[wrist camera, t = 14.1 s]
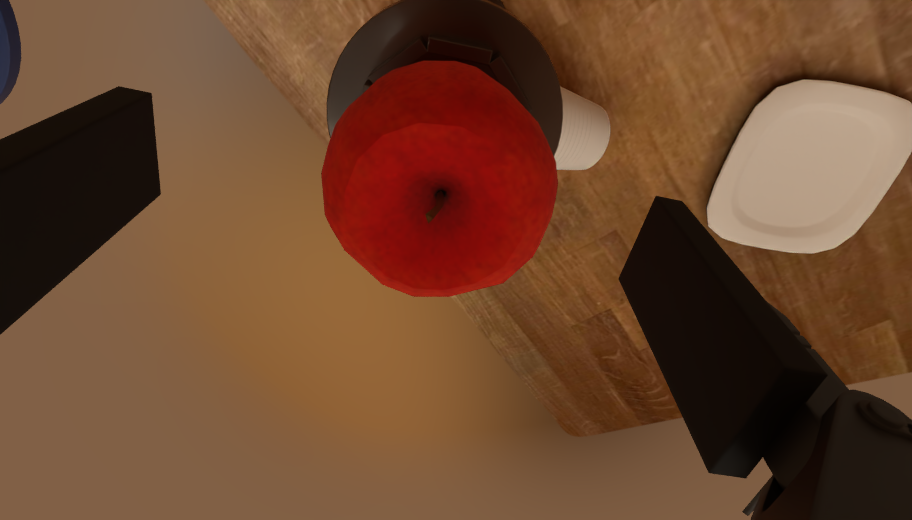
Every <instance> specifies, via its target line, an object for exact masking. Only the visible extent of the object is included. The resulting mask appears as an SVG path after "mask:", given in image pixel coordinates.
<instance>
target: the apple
mask: <svg viewBox="0 0 912 520" xmlns="http://www.w3.org/2000/svg"><path fill="white" fill-rule="evenodd" d="M321 174H322V186H323V198H324V210H325V216H326V218H327V220H328V222H329V224H330V227H331V228H332V230H333V232H334V233H335V235H336V237H337V238H338V240H339V241H340V243H341V245H342V247H343V248H344V250H345V251H346V252H347V253H348V254H349V255H351V256H352V257H353V258H354V259H355V260H356V261H357V262H358V263H359V264H361V265H362V266H363V267H364V268H365V269H366V270H367V271H368V272H369V273H370V274H372V275H373V276H374V277H375V278H376V279H377V280H378V281H379V282H380V283H381V284H383V285H385V286H387V287H390V288H393V289H395V290H398V291H401V292H403V293H406V294H408V295H411V296H414V297H415V296H416V297H418V296H419V297H420V296H421V297H425V296H426V297H429V296H430V297H432V296H437V297H442V296H443V297H444V296H445V297H446V296H447V297H449V296H453V295H457V294H461V293H465V292H470V291H474V290H478V289H482V288H486V287H490V286H494V285H498V284H502V283H504V282H505V281H506V280H507V279H508V278H509V277H511V276H512V275H513V274H514V273H515V272H516V271H517V270H518V269H520V268H521V267H522V266H523V265H524V264H525V263H526V262H527V261H529V260H530V259H531V258H532V257H533V255H534V254H535V252H536V250H537V248H538V247H539V245H540V242H541V240H542V238H543V235H544V233H545V231H546V229H547V226H548V224H549V222H550V219H551V217H552V213H553V208H554V204H555V199H556V193H557V186H558V179H557V169H556V161H555V158H554V156H553V153H552V151H551V149H550V146H549V144H548V141H547V139H546V137H545V135H544V133H543V131H542V129H541V127H540V125H539V123H538V122H537V121H536V120H535V118H534V117H533V116H532V115H531V114H530V113H529V112H528V111H527V110H526V109H525V107H524V106H523V105H522V104H521V103H520V102H519V101H518V100H517V99H516V98H515V96H514V95H513V94H512V93H511V92H510V91H509V90H508V89H507V88H505V87H504V86H503V85H501V84H500V83H498V82H497V81H495V80H494V79H493V78H491V77H490V76H488V75H487V74H486V73H484V72H483V71H481V70H480V69H479V68H477V67H475V66H471V65H468V64H464V63H461V62H457V61H421V62H417V63H414V64H410V65H407V66H404V67H400V68H397V69H394V70H392V71H390V72H389V73H387V74H385V75H384V76H382V77H381V78H379V79H377V80H376V81H375V82H374V83H373V84H372V85H371V86H370V87H369V88H368V89H367V90H366V91H365V92H364V93H363V94H362V95H361V96H360V97H358V98H357V99H356V100H355V101H354V102H353V103H352V104H351V105H349V106H348V107H347V109H346V110H345V112H344V113H343V114H342V116H341V117H340V119H339V120H338V122H337V123H336V124H335V127H334V130H333V133H332V136H331V139H330V142H329V145H328V148H327V152H326V156H325V161H324V165H323V169H322V173H321Z"/></svg>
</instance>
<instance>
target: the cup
mask: <svg viewBox="0 0 912 520" xmlns="http://www.w3.org/2000/svg"><path fill="white" fill-rule="evenodd" d="M560 89H561V95H562V101H563V122H562V132H561V136H560V140H559V145H558V148H557V151H556V153H555V156H554V158H555V161H556V169H557V170H559V169H560V170H563V169H564V170H585V169H588V168H590V167H592V166H593V165H594V164H595V163H596V162H597V161H598V160H599V159H600V158H601V157H602V155H603V154H604V152H605V150H606V148H607V145H608V142H609V138H610V121H609V117H608V115H607V112H606V111H605V109H604V108H603V107H601V106H600V105H598V104H596V103H594V102H592V101H590V100H588V99H586V98H583V97H581V96H579V95H577V94H575V93H573V92H571V91H569V90H567V89H565V88H563V87H561V86H560Z"/></svg>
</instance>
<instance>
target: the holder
mask: <svg viewBox="0 0 912 520" xmlns="http://www.w3.org/2000/svg"><path fill="white" fill-rule="evenodd" d="M421 61H457V62H461V63H464V64H468V65H471V66H475V67H477V68H479V69H480V70H481V71H483V72H484V73H486V74H487V75H488V76H490V77H491V78H493V79H494V80H495V81H497V82H498V83H500V84H501V85H503V86H504V87H505V88H507V89H508V90H509V91H510V92H511V93H512V94H513V95H514V96H515V98H516V99H517V100H518V101H519V102H520V103H521V104H522V105H523V106H524V107H525V109H526V110H527V111H528V112H529V113H530V114H531V115H532V116H533V117H534V118H535V120H536V121H537V122H538V123H539V125H540V127H541V129H542V131H543V133H544V135H545V137H546V139H547V141H548V144H549V146H550V149H551V151H552V153H553V156H555V153H556V151H557V148H558V145H559V140H560V136H561V132H562V122H563V101H562V95H561V89H560V84H559V81H558V78H557V74H556V71H555V69H554V67H553V64H552V62H551V60H550V58H549V56H548V54H547V53H546V51H545V50H544V48H543V47H542V45H541V43H540V42H539V41H538V39H537V38H536V37H535V36H534V34H533V33H532V32H531V31H530V30H529V29H528V27H527V26H526V25H525V24H523V23H522V22H521V21H520V20H519V19H518V18H517V17H515V16H514V15H513V14H511V13H510V12H508V11H507V10H506V9H505V7H504V5H503V3H502V2H501V0H400V1H398V2H396V3H394V4H392V5H390V6H388V7H386V8H385V9H383V10H382V11H380V12H379V13H377V14H376V15H374V16H373V17H372V18H371V19H370V20H369V21H368V22H366V23H365V24H364V25H363V26H362V27H361V28H360V29H359V30H358V31H357V32H356V34H355V35H354V36H353V37H352V38H351V40H350V41H349V42H348V43H347V45H346V47H345V48H344V50H343V52H342V53H341V55H340V57H339V59H338V61H337V64H336V66H335V68H334V70H333V74H332V77H331V81H330V84H329V90H328V97H327V122H328V130H329V135H330V138H331V136H332V133H333V130H334V127H335V124H336V123H337V122H338V120H339V119H340V117H341V116H342V114H343V113H344V112H345V110H346V109H347V107H348V106H349V105H351V104H352V103H353V102H354V101H355V100H356V99H357V98H358V97H360V96H361V95H362V94H363V93H364V92H365V91H366V90H367V89H368V88H369V87H370V86H371V85H372V84H373V83H374V82H375V81H376V80H377V79H379V78H381V77H382V76H384V75H385V74H387V73H389V72H390V71H392V70H394V69H397V68H400V67H404V66H407V65H410V64H414V63H417V62H421Z"/></svg>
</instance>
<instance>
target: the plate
mask: <svg viewBox="0 0 912 520" xmlns="http://www.w3.org/2000/svg"><path fill="white" fill-rule="evenodd" d="M911 151H912V104H911V102H910V101H908V100H906V99H903V98H900V97H898V96H895V95H892V94H890V93H887V92H883V91H879V90H874V89H870V88H865V87H861V86H856V85H850V84H845V83H840V82H834V81H826V80H808V79H801V80H798V81H794V82H791V83H788V84H784V85H781V86H778V87H776V88H774V89H773V90H772V91H771V92H770V93H769V94H768V95H767V96H766V97H765V98H763V99H762V100H761V101H760V102H759V103H758V104H757V105H756V106H755V107H754V108H753V110H752V112H751V113H750V115H749V117H748V118H747V120H746V121H745V123H744V125H743V126H742V128H741V129H740V131H739V133H738V135H737V137H736V139H735V141H734V143H733V145H732V147H731V149H730V151H729V153H728V155H727V157H726V159H725V161H724V164H723V166H722V168H721V170H720V172H719V174H718V176H717V179H716V181H715V183H714V186H713V189H712V192H711V194H710V197H709V200H708V203H707V206H706V210H707V222H708V226H709V227H710V228H711V229H712V230H713V231H714V232H715V233H716V234H718V235H719V236H720V237H721V238H723V239H726V240H730V241H733V242H736V243H739V244H743V245H748V246H754V247H759V248H765V249H771V250H777V251H784V252H791V253H812V254H813V253H817V252H821V251H825V250H829V249H833V248H836V247H837V246H839V245H840V244H841V243H843V242H844V241H846V240H847V239H848V238H850V237H851V236H852V235H854V234H855V233H856V232H857V231H858V229H859V228H860V227H861V226H862V225H863V223H864V222H865V221H866V220H867V218H868V217H869V216H870V215H871V214H872V212H873V211H874V209H875V208H876V207H877V205H878V204H879V202H880V201H881V199H882V198H883V196H884V195H885V194H886V192H887V191H888V189H889V188H890V186H891V185H892V183H893V182H894V180H895V178H896V177H897V175H898V174H899V172H900V171H901V169H902V168H903V166H904V165H905V163H906V161H907V159H908V157H909V155H910V153H911Z"/></svg>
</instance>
